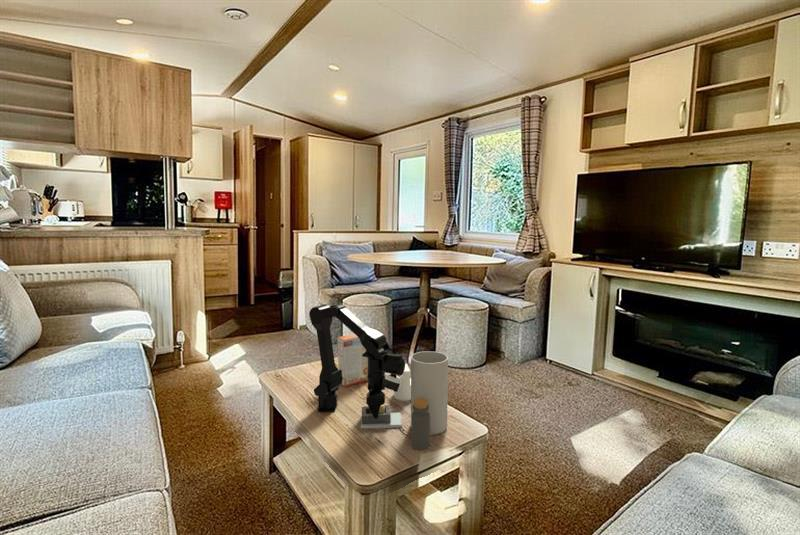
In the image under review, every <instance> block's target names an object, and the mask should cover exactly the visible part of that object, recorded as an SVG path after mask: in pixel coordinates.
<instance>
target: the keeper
mask: <svg viewBox="0 0 800 535" xmlns="http://www.w3.org/2000/svg"><path fill="white" fill-rule="evenodd" d="M385 405H386V404H385V403H384V404H383V405H381V406H380V410H379V413H385ZM390 415H391V423H377V424H362V418H361V422H360V429H386V428H387V429H389V428H390V429H391V428H402V415H401V412H390Z"/></svg>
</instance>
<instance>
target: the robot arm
mask: <svg viewBox="0 0 800 535" xmlns="http://www.w3.org/2000/svg"><path fill="white" fill-rule="evenodd" d="M308 316H309V319H310V323H311V325H312V327H313V328H314V329H315V331H316V336H317V341H318V351H319V355H320V357H319V358H320V362H321V371H320V373H319V379H318V380H319V382H318V383H319V384H318V385H317V386H316V387H315V388H314V389H313V393H314V396H317V401H318V402H317V403H318V404H317V405H318V406H317V407H318V408H317V412H318V413H321V412H322V413H323V412H324V413H325V412H335V411H336V409H337V408H338V394H336V392H337V391H339V389H340V387H341V386H342V380H343V377H342V370H341V369H339V370H338V367H337V366H336V361H335V355H334V348H333V341H332V333H331V326H332V322H333V318H336V319H337V320H338V321H340V322H341V323H342V324H343V325H344V326H345V327H346V328H347V329H348V330H349V331H351V332H352V333H353V334H355V335H356V336H358V338H359V339H360V342H361V344H362V346H363V347H364V348H365V349H366V352H365V353H364V354H362V356H363V357H367V358H368V375H367V378H368V380H367V390H368V392H367V393H366V396H365V398H366V399H365V400H366V401H365V402H366V406H369V408H370V410H371V412H372V415H373V417H374V419H377V418H378V414H379V410H380V406H381V405H383V404H384V405H385V404H386V394H385V392H383V391H384V390H386V389H388V390H391V391H393V392H394V391H395V392H397V391H398V388H399V386H400V379H399V377H397V376H399V375H402V374H403V372H404V369H405V363H406V362H405V359H404V358H403V354H395V353H393V349H392V348H391V345H390V344H389V343H388V342H387V341H388V340H387V338H386V336H385V335H384V334H383V333H381V332H380V331H378V330H377V329H374V328H371V327H370V326H367V325H366V324H365V323H364V322H363V321H362V320H360V319H359V318H358V317H357V316H356V315H355V314H353V312H352V311H350V310H349V309H348V308H347V306H346V305H344V304H336V305H329V304H326V303H325V304H320V305H317V306H313V307H312V308H311V309H310V310H309V313H308ZM381 350H382V351H381Z"/></svg>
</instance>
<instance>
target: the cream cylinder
mask: <svg viewBox="0 0 800 535" xmlns="http://www.w3.org/2000/svg"><path fill="white" fill-rule="evenodd" d="M398 376H399V377H398V378H399V379H400V386H399V388H398V391H397V392H395V391H393V398H394V399H396V400H399V401H403V402H404V401H405V402H406V401H411V368H409V366H408V364H407V363H406V362H405V369H404V372H403V374H402V375H398Z"/></svg>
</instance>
